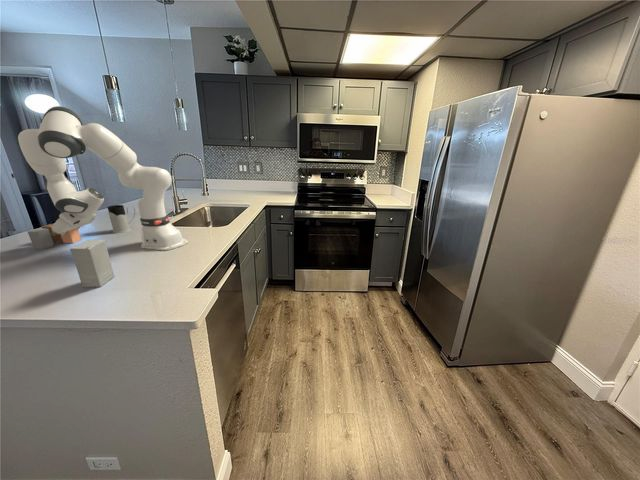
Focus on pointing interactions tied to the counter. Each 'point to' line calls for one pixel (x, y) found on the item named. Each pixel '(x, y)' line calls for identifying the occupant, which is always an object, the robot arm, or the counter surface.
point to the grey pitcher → (119, 218)
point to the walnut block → (53, 233)
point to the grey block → (41, 238)
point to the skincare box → (92, 263)
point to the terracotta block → (71, 236)
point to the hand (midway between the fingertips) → (68, 232)
